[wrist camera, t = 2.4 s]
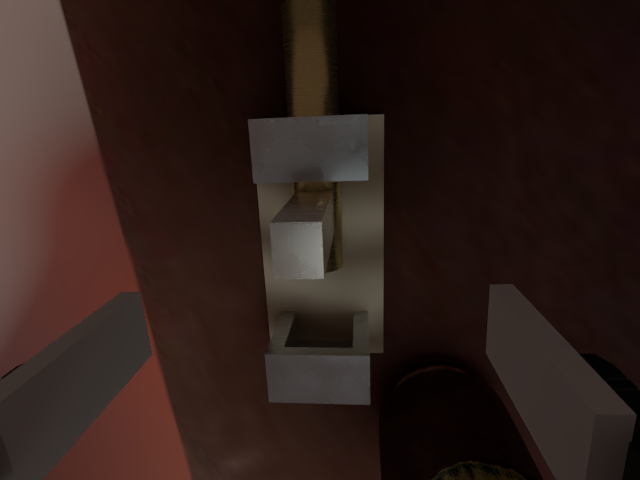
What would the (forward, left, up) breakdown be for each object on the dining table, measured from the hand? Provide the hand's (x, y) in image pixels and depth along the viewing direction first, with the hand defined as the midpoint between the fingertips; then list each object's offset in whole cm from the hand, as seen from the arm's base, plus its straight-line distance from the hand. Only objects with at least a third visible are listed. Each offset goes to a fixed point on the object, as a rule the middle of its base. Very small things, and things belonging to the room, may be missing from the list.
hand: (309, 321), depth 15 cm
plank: (+2, -1, -19) cm, 19 cm away
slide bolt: (-6, -1, -18) cm, 18 cm away
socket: (+10, -1, -18) cm, 21 cm away
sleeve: (-6, -1, -18) cm, 19 cm away
